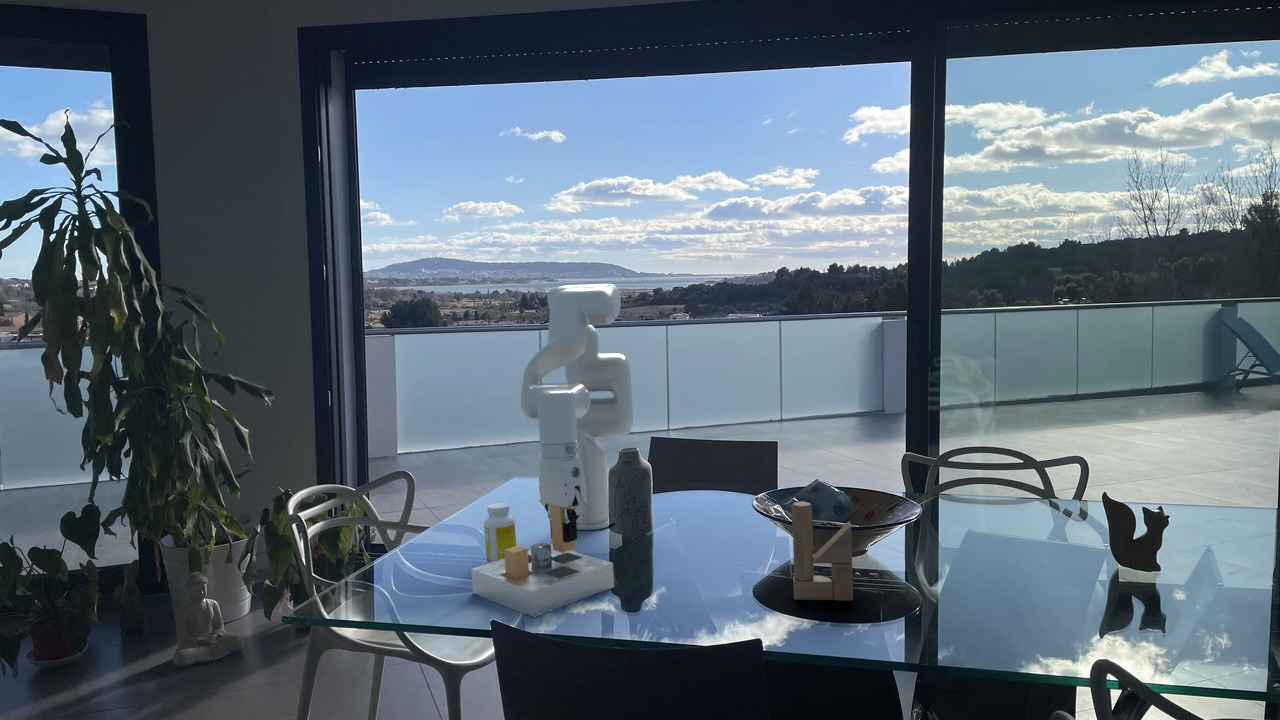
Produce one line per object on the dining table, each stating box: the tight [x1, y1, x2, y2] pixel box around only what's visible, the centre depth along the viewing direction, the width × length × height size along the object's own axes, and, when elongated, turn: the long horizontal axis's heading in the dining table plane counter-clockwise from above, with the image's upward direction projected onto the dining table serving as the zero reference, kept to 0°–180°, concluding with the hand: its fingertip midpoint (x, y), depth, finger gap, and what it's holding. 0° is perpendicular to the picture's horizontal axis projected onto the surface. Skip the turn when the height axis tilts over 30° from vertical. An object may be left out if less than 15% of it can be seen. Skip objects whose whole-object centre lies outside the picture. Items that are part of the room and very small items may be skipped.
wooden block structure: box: [791, 501, 854, 602], centre depth 167 cm, size 4×11×18 cm, turn 82°
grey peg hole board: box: [470, 542, 615, 618], centre depth 178 cm, size 20×20×9 cm
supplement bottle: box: [483, 502, 517, 564], centre depth 196 cm, size 7×7×13 cm
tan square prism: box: [550, 504, 576, 553], centre depth 181 cm, size 3×3×10 cm
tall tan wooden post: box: [504, 545, 529, 581], centre depth 174 cm, size 3×3×10 cm
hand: (564, 538), depth 182 cm, fingers closed on tan square prism, 3 cm apart
